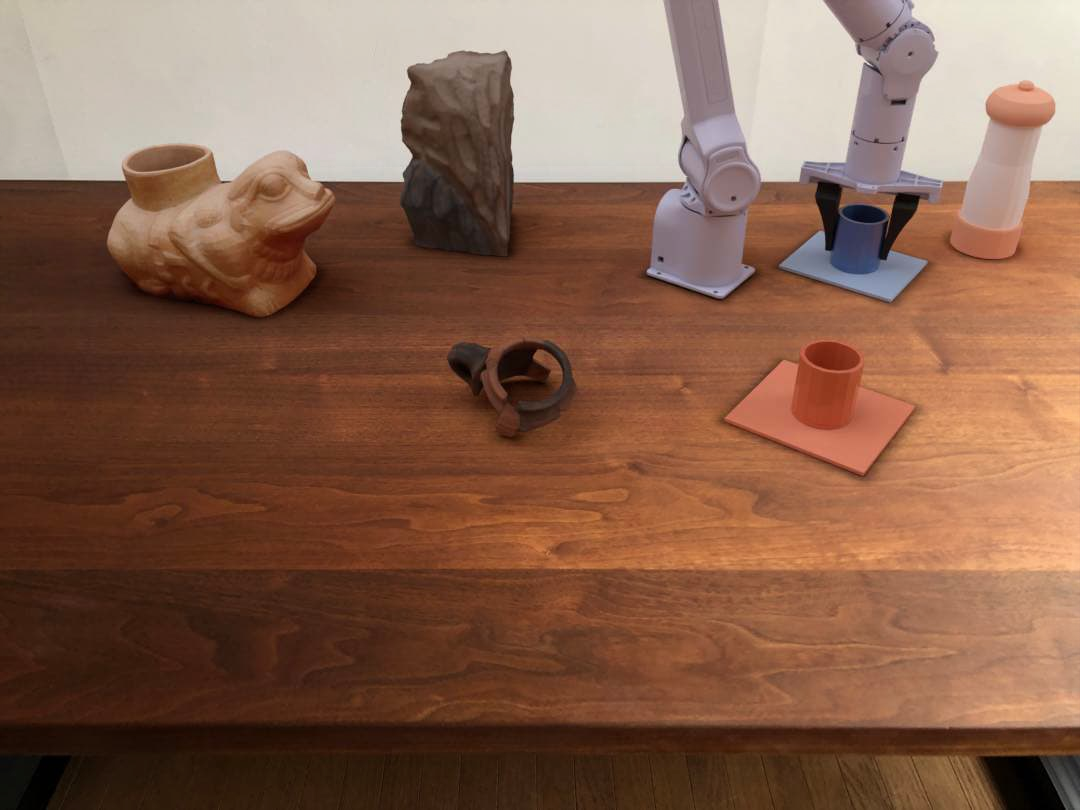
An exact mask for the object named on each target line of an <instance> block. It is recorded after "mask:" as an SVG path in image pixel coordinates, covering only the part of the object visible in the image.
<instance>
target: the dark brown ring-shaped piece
mask: <svg viewBox="0 0 1080 810" xmlns="http://www.w3.org/2000/svg"><path fill="white" fill-rule="evenodd" d="M538 351H545V352H546V353H548V354H550V355H551V356H552V357H553V358H554V359H555V360H556V361H557V363H558V365H559V366H560V370H561V372H562V380H561V383H560V387H559V389H558V390H557V391H556V392H555V393H554V394H553V395H551V396H549V397H547V398H546V399H543V400H539V401H524V400H518V408H517V407H516V406H513V405H512V404H510V403H509V402H508V396H509V395H508V392H507V391H506V390H505V388H504V387H503V386H502V385H501V382H502V381H505V380H508V379H511V378H515V377H526V378H530V379H534V380H536V381H538V382H540V383H541V384H547V383H548V381H549V377H550V374H551V373H552V368H551V367H550V366H548V365H546V364H544V363H542V362H541V361H540V360H538V359H536V358H534V356H535V354H536V353H538ZM446 360H447V362H448V366H449V367H450V369H451V370H452V372H454V374H455V375H457V376H458V377H459V378H460V379H461V380H462V381H463V382H465V383H466V384H468V386H469V387H470V389H471V392H472V395H473V396H474V397H479V396H480V393H481V391H482V390H484V391H485V394H486V395H487V398H488V400H489V403H490V404H491V405H492V407H493V408H494V409H495V410H496V411H497V412H498V413H499V417H498V420H497V422H496V423H495V424H494V426H495V431H496V432H497V433H499V434H500V435H502V436H505V437H507V438H513V437H514V436H517V434H518V432H520V433H527V432H529V431H534V430H536V429H539V428H542V427H544V426H546V425H549V424H550V423H553V422H554V421H556V420H558V419H559V418H561V412H566V411H567V410H568V408H569V406H570V405H571V402H572V400H573V398H574V396H575V395H576V394H577V393H578V391H579V388H578V386H577V383H576V380H575V378H574V377H573V375H574V374H573V371H572V365H571V362H570V359H569V357H568V355H567V353H566V351H564V350H563V349H562V348H561V347H559V346H558V345H557V344H555V343H554V342H553V341H550V340H546V339H544V338H541V337H537V336H532V335H524V336H515V337H513V338H510V339H507V340H505V341H504V342H501V343H499V344H497V345H495V346H492V347H488V346H483V345H481V344H479V343H476V342H469V341H460V342H457V343H455V344H453V345H452V346H451V348H450V350H449V351H448V353H447V356H446Z"/></svg>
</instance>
